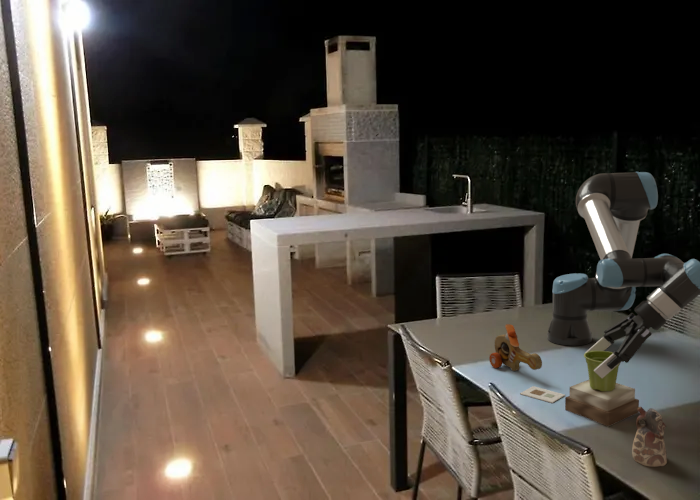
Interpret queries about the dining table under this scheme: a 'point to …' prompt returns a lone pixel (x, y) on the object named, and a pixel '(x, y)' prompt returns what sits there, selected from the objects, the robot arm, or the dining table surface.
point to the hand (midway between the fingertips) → (593, 365)
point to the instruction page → (542, 394)
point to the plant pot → (595, 380)
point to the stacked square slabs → (602, 403)
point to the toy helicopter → (512, 352)
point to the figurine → (649, 439)
